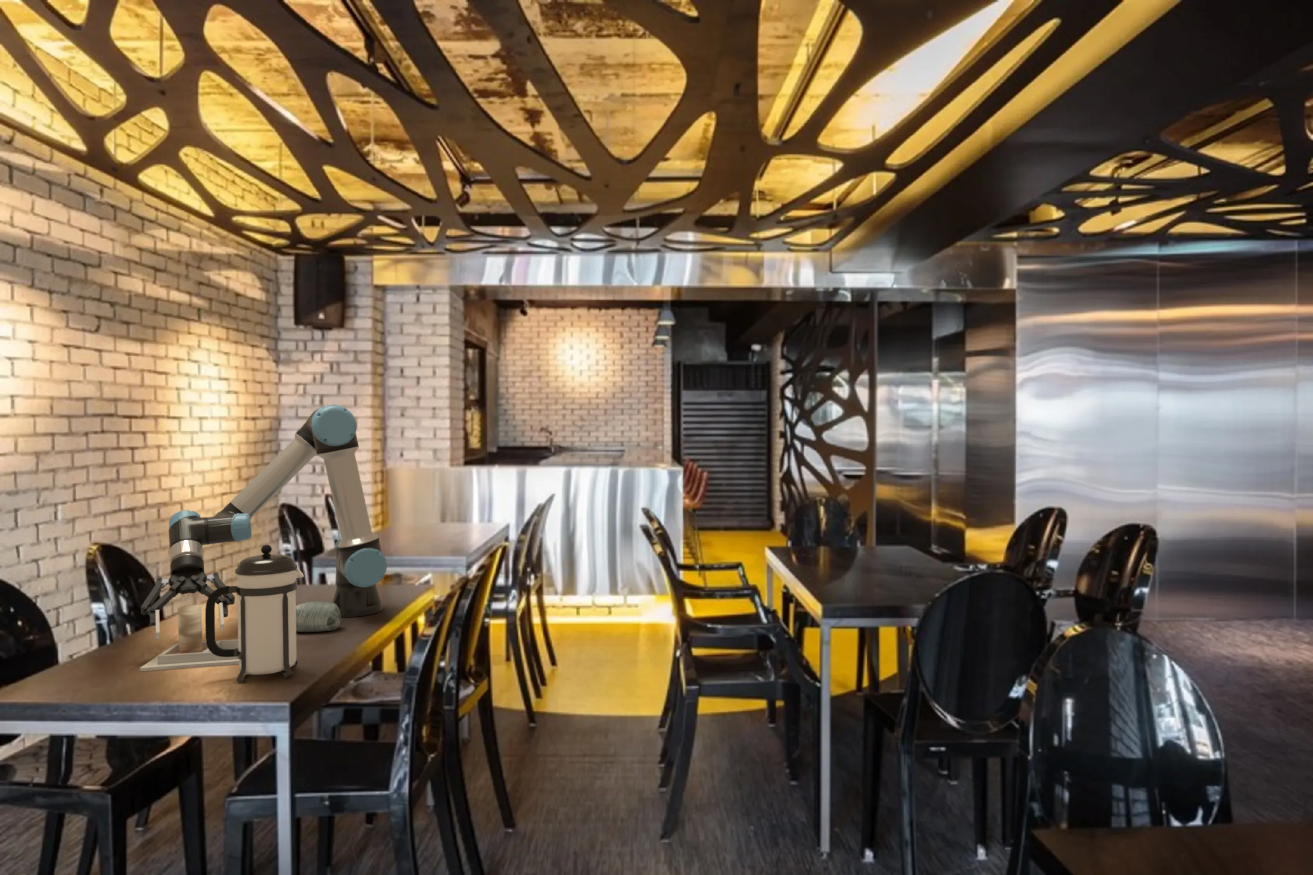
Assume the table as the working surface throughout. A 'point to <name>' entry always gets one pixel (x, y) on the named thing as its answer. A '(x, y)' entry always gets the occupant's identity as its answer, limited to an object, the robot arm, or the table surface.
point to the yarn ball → (317, 616)
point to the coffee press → (261, 615)
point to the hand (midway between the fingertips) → (190, 631)
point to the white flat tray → (192, 657)
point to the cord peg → (190, 629)
